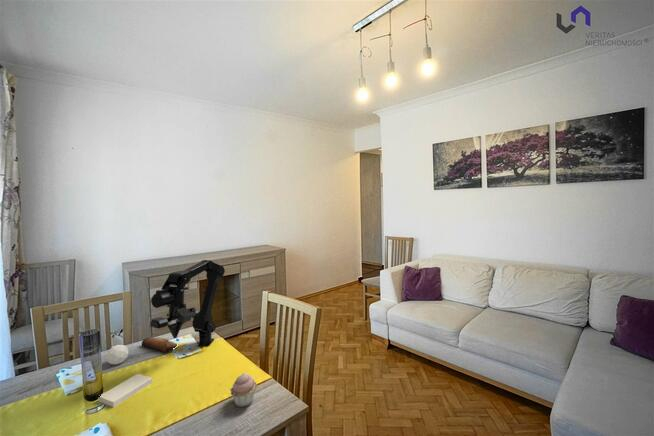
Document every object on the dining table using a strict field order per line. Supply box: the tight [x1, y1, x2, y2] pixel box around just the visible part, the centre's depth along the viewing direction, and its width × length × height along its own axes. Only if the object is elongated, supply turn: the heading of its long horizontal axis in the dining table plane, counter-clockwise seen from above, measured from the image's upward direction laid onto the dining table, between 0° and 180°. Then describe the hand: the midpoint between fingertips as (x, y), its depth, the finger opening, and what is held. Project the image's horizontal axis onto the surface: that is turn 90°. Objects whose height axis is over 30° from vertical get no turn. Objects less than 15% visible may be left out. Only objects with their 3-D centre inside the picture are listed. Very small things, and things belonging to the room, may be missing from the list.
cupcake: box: [229, 372, 258, 408], centre depth 98 cm, size 9×9×10 cm
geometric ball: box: [105, 344, 130, 365], centre depth 121 cm, size 8×8×8 cm
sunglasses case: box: [141, 337, 178, 354], centre depth 135 cm, size 18×7×7 cm
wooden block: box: [98, 373, 153, 408], centre depth 102 cm, size 2×8×14 cm
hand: (175, 337), depth 120 cm, fingers closed
